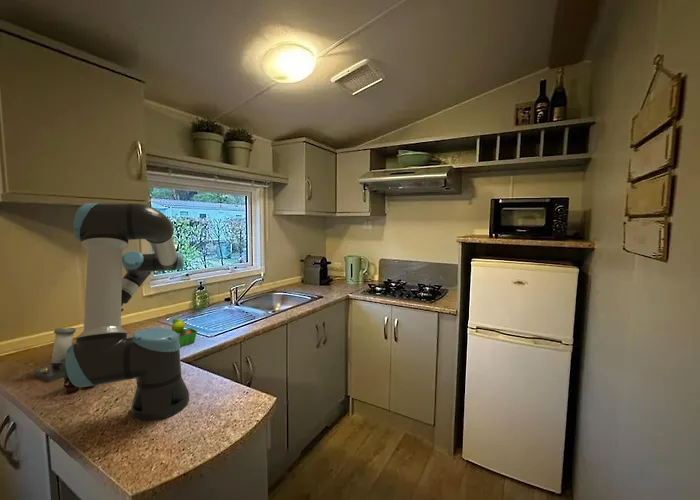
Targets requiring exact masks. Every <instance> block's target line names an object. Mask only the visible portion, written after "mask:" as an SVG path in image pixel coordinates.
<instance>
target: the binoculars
mask: <svg viewBox="0 0 700 500" xmlns="http://www.w3.org/2000/svg"><path fill="white" fill-rule="evenodd" d="M64 369H65V376H64V377H63V379H64V381H63V388H66V391H65V392H66V394H68V395H69V394H70V395H71V394H75V393H77V392H79V390H80V387H77V386H75V385H73V384H72V383H71V381H70V379H69V377H68V374H67V370H66V365H65V367H64ZM94 387H95V386H87V387H84V389H86V390H88V389H93V388H94Z"/></svg>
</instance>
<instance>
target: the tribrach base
mask: <svg viewBox="0 0 700 500" xmlns="http://www.w3.org/2000/svg"><path fill="white" fill-rule="evenodd" d="M51 361H52V355H50V364H48V365H45V366H42V367H38V368H35V369H33V373H34V376H36V377H37V378H39V379H40V378H41V379H42V380H45V381H47V382H50V383H51V382H54V381H57V380H59V379H63V378H64V376H65V369H64V367H65V365H66V363H65V359H63V360H61V363H52V362H51Z"/></svg>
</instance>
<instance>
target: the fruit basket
mask: <svg viewBox="0 0 700 500" xmlns="http://www.w3.org/2000/svg"><path fill="white" fill-rule="evenodd" d="M185 327H186V324H185V323H184V322H183V321H182V320H181V319H180V318H177V317H176V318H173V320H172V325H171V330H173V331H175V332H176V333H177V334H178V337H179V344H180V346H181V347H184V346H187V345H189V344H193V343H195V340H196V338H197V333H198V331H197V330H195V329H194V328H191V327H187V328H185Z"/></svg>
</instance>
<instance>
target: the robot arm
mask: <svg viewBox="0 0 700 500" xmlns="http://www.w3.org/2000/svg"><path fill="white" fill-rule="evenodd" d="M73 218H74V219H73V228H74V230H73V234H74V237H75V238H76V240H78V241H79V242H80V243H81V246H82V247H83V248H85V249H86V250H87V259H86V276H85V277H86V278H85V279H86V280H85V294H84V295H85V297H84V298H85V299H84V321H83V331H82V332H81V333H80V334H79V335H77V336H76V339H75V344H74V343H72V346H70V347H69V348H68V349H67V354H66V358H65V363H66V370H67V374H68V377H69V379H70V381H71V383H72V384H73V385H75V386H77V387H79V388H85V387H87V386H94V387H96V386H99V385H105V384H111V383H117V382H121V381H122V382H123V381H129V380H134V379H135V381H136V388H135V392H134V396H133V399H132V402H131V406H130V408H131V416H132V418H133V419H136V420H137V421H143V422H144V421H145V422H150V421H152V422H153V421H156V420H157V421H158V420H162V419H165V418H168V417H170V416H172V415H175V414H177V413H178V412H180V411H181V410H183V409H184V408H186V406H187V405H188V403H190V393H189V390H188V387H187V385H186V383H185V381H184V378H183V377H182V367H181V366H182V364H181V353H180V352H181V350H180V349H181V347H180V344H179V337H178V334H177V333H176V332H175V331H173V330H172V329H170V328H165V327H151V328H145V329H141V330H138V331H136V332H134V333H133V334H132V337H128V333H127V332H128V331H126V330H125V329H124V328H123V327H122V312H123V311H124V308H123V307H122V306H123V305H124V304H126V305H127V304H128V303H129V301H130V300H131V299H132V298H133V297H132V296H134V295H135V294H136V293H137V292H138V289H140V287H141V286H142V285H143V283H144V282H145V281H146V280H147V278H148V277H150V275H151V274H152V272H163V271H167V272H168V271H178V270H182V269H184V254H183V253H182V252H177V250H176V246H175V243H174V240H173V235H174V226H173V223H172V222H171V221H170V219H169V218H168V217H167V215H165V214H164V213H163V212H161V211H160V210H159V209H156V208H154V207H153V206H149V205H148V204H143V203H135V202H134V203H121V202H120V203H119V202H118V203H115V202H114V203H113V202H112V203H110V202H95V203H92V202H91V203H89V202H88V203H84V204H82V205H81V206H79V207H78V209H77V210H76V213H75V215H74V217H73ZM133 240H145V241H147V242H148V243H149V244H150V246H151V248H152V251H153V252H154V253H141V252H140V251H137V250H129V251H126V252H125V253H123V251H124V250H125V249H127V248H128V247H129V241H133ZM123 268H124V269H125V271H126V274H124V276H123Z"/></svg>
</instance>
